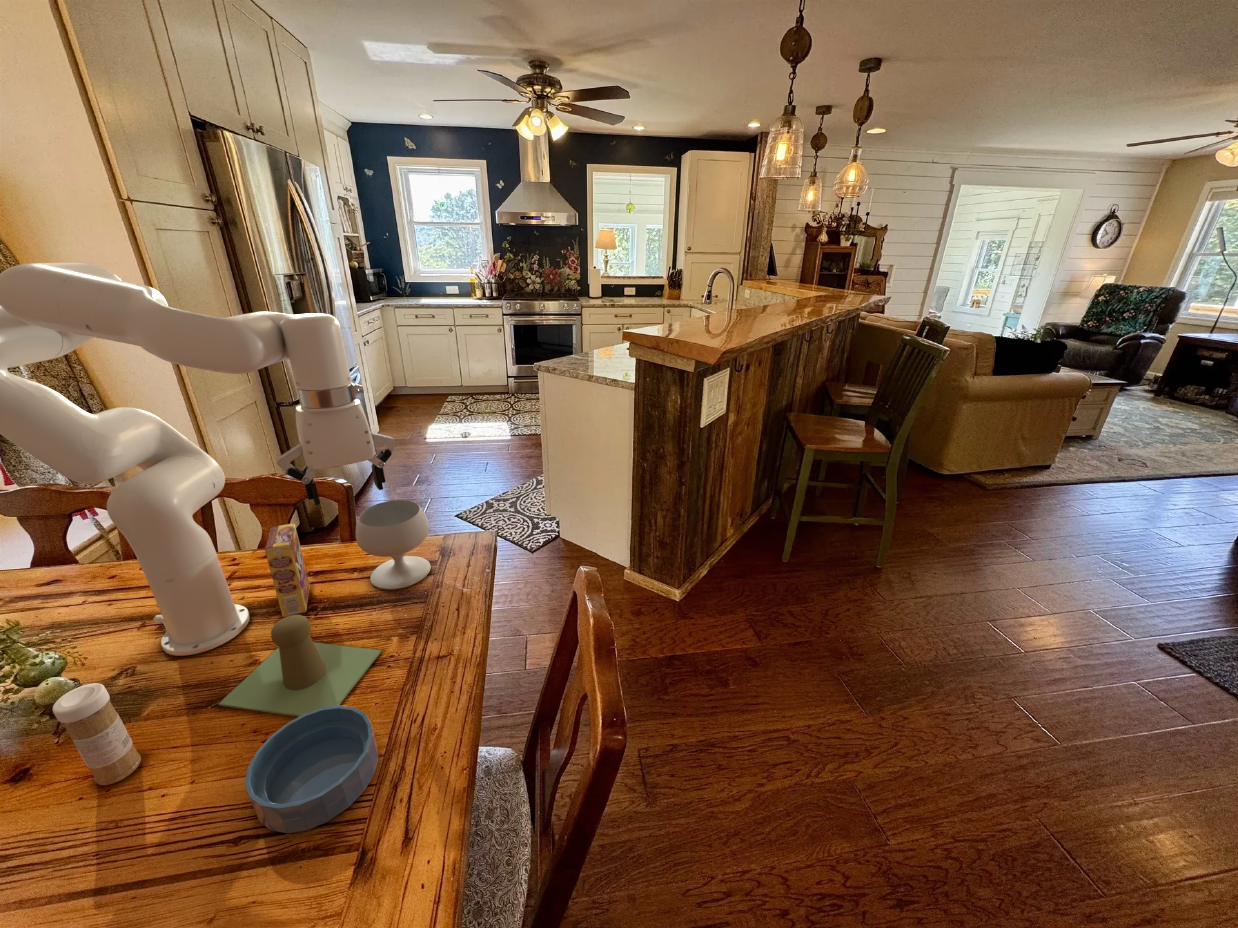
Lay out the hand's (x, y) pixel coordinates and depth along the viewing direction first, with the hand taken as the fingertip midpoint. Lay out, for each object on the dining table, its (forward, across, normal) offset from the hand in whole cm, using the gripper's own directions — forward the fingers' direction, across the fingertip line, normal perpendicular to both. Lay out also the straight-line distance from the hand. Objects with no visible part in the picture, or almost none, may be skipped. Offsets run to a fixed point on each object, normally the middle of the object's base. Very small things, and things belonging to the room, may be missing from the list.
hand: (348, 494), depth 84 cm
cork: (+26, +13, +8) cm, 30 cm away
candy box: (+26, +11, -14) cm, 32 cm away
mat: (+26, +13, +8) cm, 30 cm away
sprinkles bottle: (+26, +35, +12) cm, 45 cm away
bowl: (+26, +13, +29) cm, 41 cm away
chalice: (+26, -8, -12) cm, 30 cm away
